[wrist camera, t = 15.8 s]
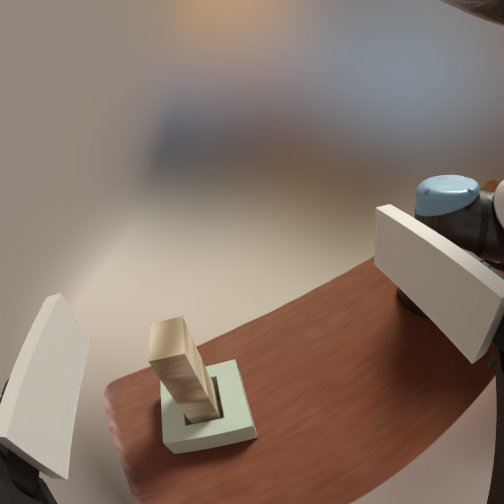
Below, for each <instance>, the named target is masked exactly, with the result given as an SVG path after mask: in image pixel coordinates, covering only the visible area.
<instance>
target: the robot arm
mask: <svg viewBox="0 0 504 504" xmlns="http://www.w3.org/2000/svg"><path fill="white" fill-rule="evenodd" d="M441 1H442V2H445V3H446V4H449V5H451V6H453V7H456V8H458V9H460V10H462V11H464V12H466V13H469V14H471V15H474V16H476V17H479V18H481V19H484V20H487V21H490V22H493V23H495V24H498V25H502V26H504V0H441ZM414 212H415V219H414V218H413V217H411V216H409V215H408V214H406V213H404V212H402V211H401V210H399V209H397V208H396V207H394V206H392V205H391V204H389V205H385V206H381V207H377V208H376V229H375V231H376V235H375V259H374V265H375V266H377V267H378V268H379V269H380V270H381V271H382V272H383V273H384V274H385V275H386V276H387V277H388V278H389V279H390V280H391V281H392V282H393V283H395V284H396V285H397V286H398V294H399V297H400V299H401V301H402V302H403V304H404V305H405V306H406V307H408V308H409V309H410V310H412V311H413V312H415V313H417V314H419V315H422V316H425V317H429V318H430V319H431V320H432V321H433V322H434V323H435V324H436V325H437V327H438V328H439V329H440V330H441V331H442V332H443V333H444V334H445V335H446V336H447V337H448V338H449V339H450V340H451V341H452V343H453V344H454V345H455V346H456V347H457V348H458V349H459V350H460V351H461V352H462V353H463V355H464V356H465V357H466V358H467V359H468V360H469V361H470V362H471V364H473V363H474V362H476V361H477V360H478V359H480V358H481V357H482V356H483V355H485V354H486V352H487V350H488V348H489V346H490V344H491V342H492V341H493V342H494V343H495V344H496V347H495V349H494V351H493V353H492V355H491V357H490V358H489V360H488V362H487V364H486V369H489V367H490V365H491V364H492V362H493V360H494V361H495V363H494V365H493V367H492V369H495V373H496V392H497V425H496V444H495V455H494V464H493V472H492V479H491V485H490V490H489V496H488V501H487V504H504V275H502V274H501V273H500V272H498V271H497V270H496V269H494V268H493V267H492V268H491V266H490V265H489V264H488V263H486V262H485V261H484V262H483V260H482V259H486V260H491V261H496V262H501V263H504V180H503V181H502V182H501V183H500V184H499V186H498V187H497V189H496V191H495V193H493V192H488V191H481V190H480V188H479V185H478V183H477V182H476V181H475V180H473V179H471V178H465V177H464V176H458V175H441V176H436V177H431V178H428V179H426V180H424V181H423V182H421V183H420V185H419V186H418V188H417V192H416V202H415V206H414ZM90 344H91V342H90V340H89V339H88V337H87V336H86V334H85V333H84V331H83V329H82V328H81V326H80V325H79V323H78V322H77V320H76V318H75V317H74V315H73V313H72V312H71V310H70V308H69V307H68V305H67V303H66V302H65V300H64V298H63V296H62V295H61V293H59V294H56V295H52V296H49V297H47V298H46V300H45V302H44V304H43V306H42V308H41V310H40V312H39V314H38V315H37V317H36V319H35V321H34V323H33V325H32V327H31V329H30V332H29V334H28V336H27V338H26V340H25V342H24V344H23V347H22V349H21V351H20V354H19V356H18V358H17V361H16V363H15V366H14V368H13V370H12V373H11V376H10V378H9V379H8V381H7V382H6V384H5V386H4V389H3V392H2V397H1V398H0V504H57V502H56V500H55V499H54V497H53V495H52V494H51V492H50V490H49V488H48V487H47V485H46V483H45V482H44V481H43V479H41V478H40V477H39V471H41V472H42V473H44V474H45V475H47V476H49V477H50V478H55V479H62V480H68V471H69V460H70V450H71V442H72V434H73V427H74V421H75V415H76V409H77V403H78V398H79V392H80V388H81V382H82V377H83V373H84V369H85V364H86V360H87V356H88V352H89V348H90Z"/></svg>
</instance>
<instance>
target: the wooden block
mask: <svg viewBox="0 0 504 504" xmlns="http://www.w3.org/2000/svg"><path fill="white" fill-rule="evenodd" d="M149 363H150V364H151V366H152V368H153V369H154V371H155V372H156V374H157V375H158V377H159V378H160V380H161V381H162V383H163V384H164V386H165V387H166V389H167V390H168V392H169V393H170V394H171V396H172V397H173V399H174V400H175V402H176V403H177V404H178V406H179V407H180V408H181V410H182V411H183V413H184V414H185V415H186V417H187V418H188V419H189V421H190V422H191V423H192V424H198V423H203V422H208V421H212V420H217V419H221V418H223V417H222V412H221V407H220V402H219V397H218V392H217V390H216V388H215V386H214V384H213V382H212V380H211V378H210V376H209V374H208V372H207V369H206V367H205V365H204V363H203V361H202V359H201V357H200V355H199V352H198V350H197V348H196V346H195V344H194V341H193V339H192V337H191V335H190V333H189V330H188V328H187V326H186V323H185V321H184V319H183V316H181V317H178V318H173V319H170V320H165V321H161V322H157V323H153V324H151V327H150V343H149Z"/></svg>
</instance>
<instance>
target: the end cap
mask: <svg viewBox="0 0 504 504" xmlns="http://www.w3.org/2000/svg"><path fill="white" fill-rule="evenodd" d="M206 369H207V372H208V374H209V376H210V378H211V380H212V382H213V384H214V386H215V388H216V390H217V392H218V397H219V402H220V407H221V412H222V417H223V418H221V419H217V420H212V421H208V422H203V423H198V424H192V423H191V422H190V421H189V419H188V418H187V417H186V415H185V414H184V413H183V411H182V410H181V408H180V407H179V406H178V404H177V403H176V402H175V400H174V399H173V397H172V396H171V394H170V393H169V392H168V390H167V389H166V387H165V386H164V384H163V383H162V381H161V412H162V432H163V444H164V445H165V446H167V447H168V448H169V449H170V450H171V451H172V452H173V453H174V454H179V453H186V452H192V451H198V450H204V449H209V448H214V447H219V446H224V445H229V444H233V443H237V442H242V441H246V440H250V439H254V438H257V437H258V436H257V432H256V429H255V425H254V422H253V418H252V415H251V411H250V408H249V404H248V401H247V397H246V393H245V390H244V386H243V382H242V379H241V375H240V372H239V369H238V366H237V364H236V361H235V359H234V360H231V361H227V362H223V363H219V364H215V365H211V366H207V367H206Z"/></svg>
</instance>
